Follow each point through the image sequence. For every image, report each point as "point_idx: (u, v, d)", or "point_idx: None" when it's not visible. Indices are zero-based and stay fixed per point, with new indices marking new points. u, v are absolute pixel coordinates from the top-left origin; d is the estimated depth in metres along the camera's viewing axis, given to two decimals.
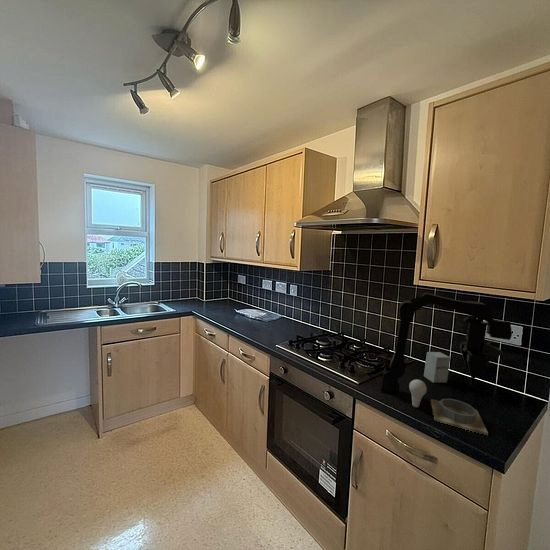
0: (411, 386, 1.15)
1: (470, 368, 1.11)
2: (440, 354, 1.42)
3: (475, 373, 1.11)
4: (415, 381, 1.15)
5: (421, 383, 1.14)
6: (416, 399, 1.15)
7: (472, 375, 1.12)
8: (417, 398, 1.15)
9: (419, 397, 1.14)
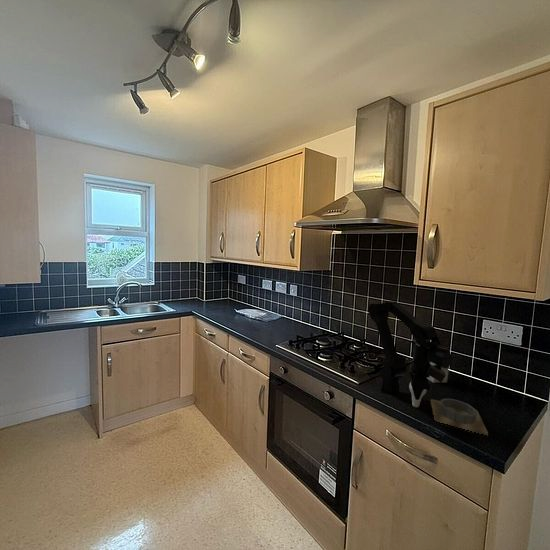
0: (411, 386, 1.15)
1: (414, 390, 1.12)
2: None
3: (419, 395, 1.12)
4: None
5: None
6: None
7: (416, 397, 1.13)
8: None
9: None
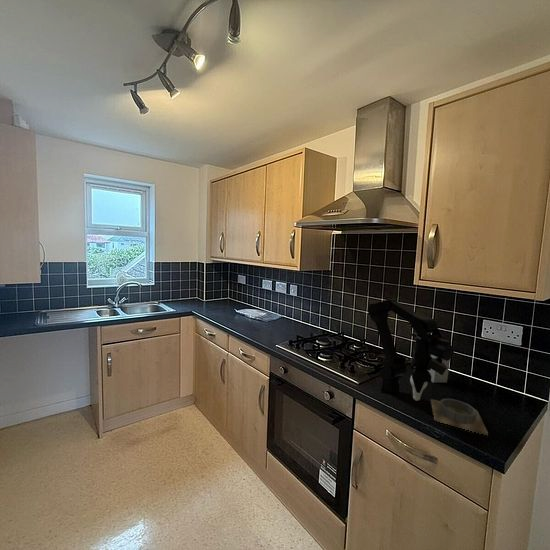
0: (412, 379, 1.15)
1: (415, 383, 1.12)
2: None
3: (419, 388, 1.12)
4: None
5: None
6: None
7: (417, 390, 1.13)
8: None
9: None
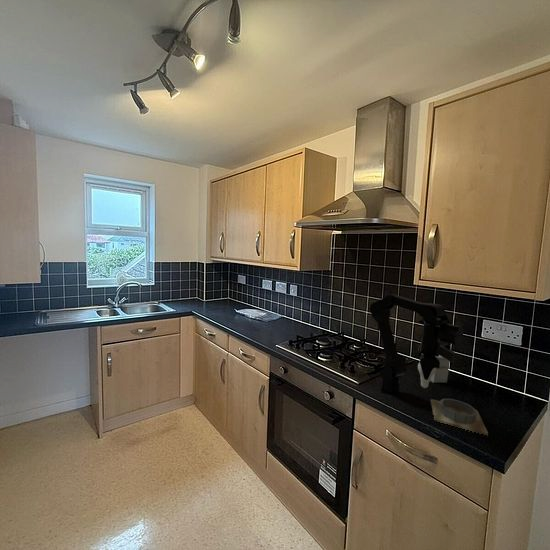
0: (420, 366, 1.14)
1: (423, 369, 1.11)
2: None
3: (428, 374, 1.11)
4: None
5: None
6: None
7: (425, 376, 1.11)
8: None
9: None
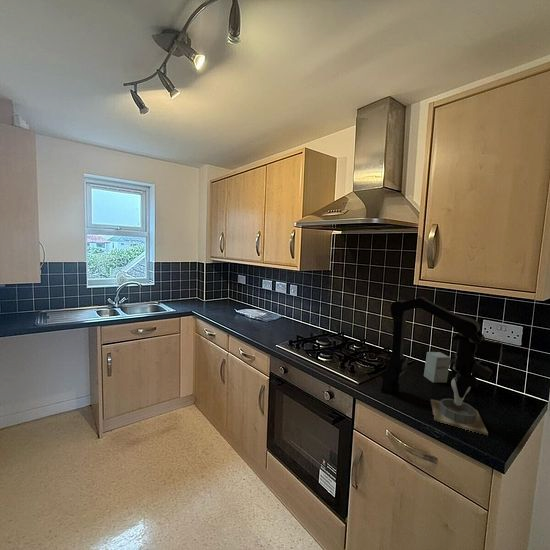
0: (454, 383, 1.09)
1: (458, 387, 1.07)
2: (440, 354, 1.42)
3: (463, 392, 1.07)
4: None
5: None
6: (459, 397, 1.09)
7: (460, 394, 1.07)
8: None
9: None
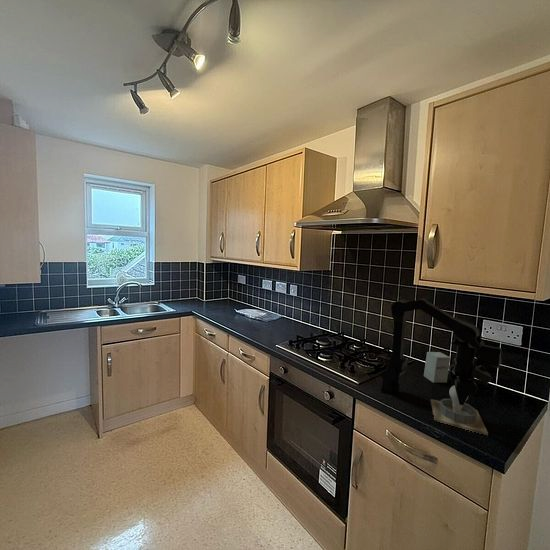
0: (452, 392, 1.10)
1: (458, 395, 1.05)
2: (440, 354, 1.42)
3: (463, 400, 1.05)
4: None
5: None
6: (458, 405, 1.10)
7: (460, 402, 1.06)
8: (459, 404, 1.09)
9: None
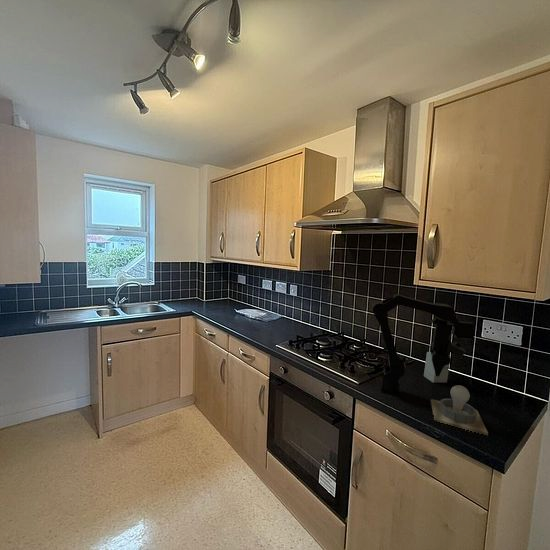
0: (453, 392, 1.10)
1: (434, 366, 1.18)
2: None
3: (439, 371, 1.17)
4: (457, 387, 1.10)
5: (464, 389, 1.09)
6: (458, 406, 1.10)
7: (436, 373, 1.18)
8: (459, 405, 1.09)
9: (462, 404, 1.09)
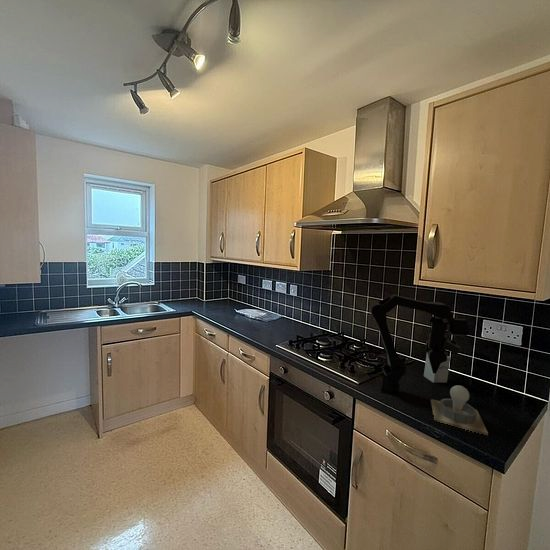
0: (453, 392, 1.10)
1: (431, 364, 1.20)
2: None
3: (436, 369, 1.20)
4: (457, 387, 1.10)
5: (464, 389, 1.09)
6: (458, 406, 1.10)
7: (433, 370, 1.21)
8: (459, 405, 1.09)
9: (461, 404, 1.09)
